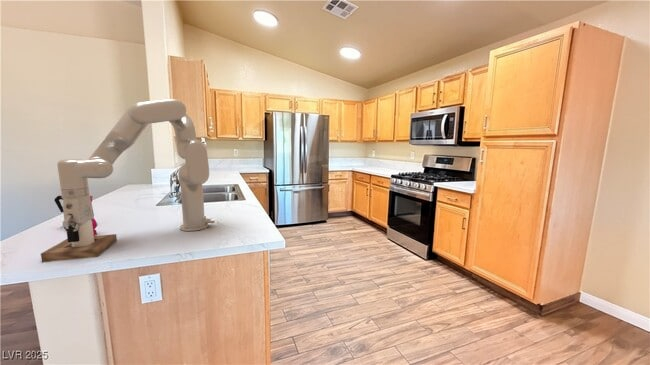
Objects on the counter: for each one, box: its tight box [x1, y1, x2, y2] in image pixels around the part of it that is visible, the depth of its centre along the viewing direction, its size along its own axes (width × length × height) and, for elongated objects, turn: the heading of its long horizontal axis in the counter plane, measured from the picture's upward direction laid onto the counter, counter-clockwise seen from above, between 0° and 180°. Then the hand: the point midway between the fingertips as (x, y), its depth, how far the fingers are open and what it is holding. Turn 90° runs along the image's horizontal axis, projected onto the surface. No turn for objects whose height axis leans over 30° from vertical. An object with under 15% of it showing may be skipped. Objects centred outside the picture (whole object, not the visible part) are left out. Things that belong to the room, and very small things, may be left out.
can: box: [71, 220, 95, 247], centre depth 102 cm, size 6×6×12 cm
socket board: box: [40, 233, 118, 263], centre depth 102 cm, size 16×16×3 cm
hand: (81, 237), depth 101 cm, fingers open, 9 cm apart
